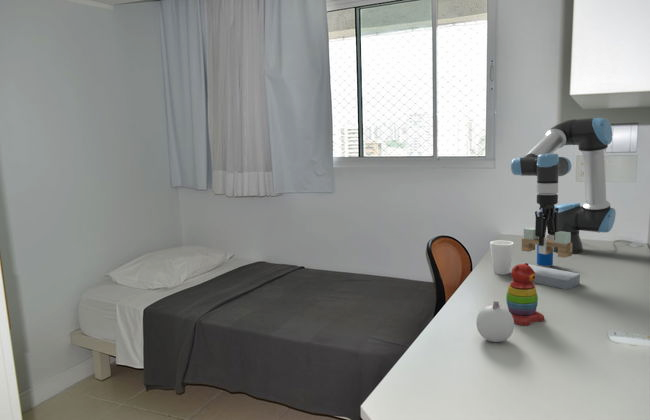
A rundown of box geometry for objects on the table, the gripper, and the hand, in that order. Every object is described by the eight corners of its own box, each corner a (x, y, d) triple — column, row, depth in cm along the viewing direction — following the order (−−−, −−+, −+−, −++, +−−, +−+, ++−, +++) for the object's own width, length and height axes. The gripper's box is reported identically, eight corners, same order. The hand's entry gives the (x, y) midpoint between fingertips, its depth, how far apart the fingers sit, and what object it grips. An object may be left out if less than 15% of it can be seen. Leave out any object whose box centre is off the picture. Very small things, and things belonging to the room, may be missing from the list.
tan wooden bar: (528, 248, 205) (528, 236, 204) (572, 255, 190) (572, 242, 190) (521, 250, 202) (521, 238, 201) (565, 257, 187) (565, 244, 187)
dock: (526, 273, 209) (526, 263, 209) (579, 283, 192) (579, 273, 191) (513, 277, 203) (513, 268, 203) (566, 289, 186) (566, 279, 185)
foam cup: (489, 274, 209) (489, 244, 208) (490, 269, 218) (490, 240, 216) (513, 276, 206) (513, 245, 204) (513, 270, 214) (514, 240, 213)
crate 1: (529, 236, 203) (529, 227, 203) (538, 238, 200) (538, 228, 199) (523, 238, 201) (523, 228, 200) (532, 239, 198) (533, 229, 197)
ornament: (509, 350, 137) (509, 308, 135) (472, 343, 142) (472, 303, 140) (517, 337, 145) (517, 297, 143) (481, 331, 151) (481, 293, 149)
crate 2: (560, 241, 193) (560, 231, 192) (570, 242, 190) (570, 232, 189) (554, 242, 190) (555, 232, 190) (565, 244, 187) (565, 233, 187)
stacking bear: (523, 327, 152) (524, 270, 150) (498, 317, 161) (498, 264, 159) (547, 319, 157) (548, 265, 155) (521, 310, 166) (522, 258, 164)
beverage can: (549, 263, 222) (550, 237, 221) (554, 267, 216) (555, 240, 214) (534, 263, 223) (535, 237, 221) (539, 267, 217) (539, 240, 215)
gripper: (550, 190, 201) (549, 247, 204) (525, 195, 190) (524, 254, 193) (568, 191, 195) (567, 249, 198) (544, 196, 184) (543, 257, 188)
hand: (546, 252), depth 196 cm, fingers closed on tan wooden bar, 5 cm apart
